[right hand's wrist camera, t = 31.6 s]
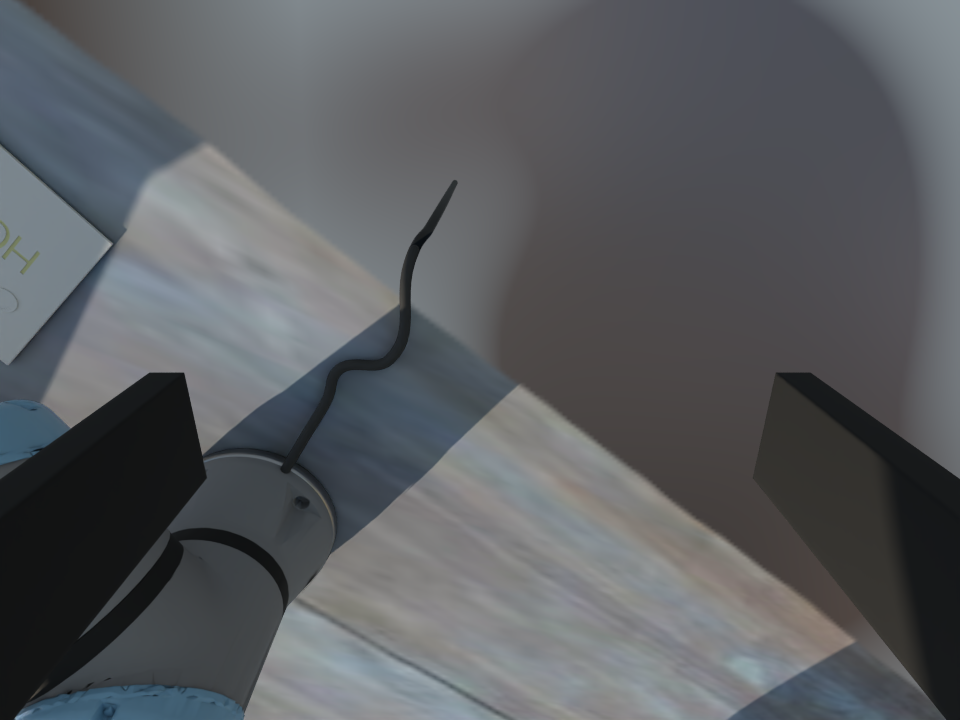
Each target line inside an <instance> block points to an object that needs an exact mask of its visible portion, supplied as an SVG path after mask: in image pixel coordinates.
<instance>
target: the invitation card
mask: <svg viewBox="0 0 960 720" xmlns="http://www.w3.org/2000/svg"><path fill="white" fill-rule="evenodd" d="M112 245H113V243H112V242H111V241H110V240H109V239H107V238H106V237H105V236H104V235H103V234H102V233H101V232H99V231H98V230H97V229H96V228H95V227H94V226H93V225H91V224H90V223H89V222H88V221H87V220H86V219H85V218H83V217H82V216H81V215H80V214H79V213H78V212H77V211H76V210H74V209H73V208H72V207H71V206H70V205H69V204H68V203H66V202H65V201H64V200H63V199H62V198H61V197H60V196H58V195H57V194H56V193H55V192H54V191H53V190H52V189H50V188H49V187H48V186H47V185H46V184H45V183H44V182H43V181H41V180H40V179H39V178H38V177H37V176H36V175H35V174H33V173H32V172H31V171H30V170H29V169H28V168H27V167H25V166H24V165H23V164H22V163H21V162H20V161H19V160H17V159H16V158H15V157H14V156H13V155H12V154H11V153H10V152H8V151H7V150H6V149H5V148H4V147H3V146H2V145H0V360H1V361H2V362H4V363H5V364H6V365H7V366H8V365H10V364H11V362H12V361H13V360H14V359H15V358H16V357H17V355H18V354H19V353H20V352H21V351H22V350H23V348H24V347H25V346H26V345H27V344H28V343H29V341H30V340H31V339H32V338H33V337H34V336H35V335H36V333H37V332H38V331H39V330H40V329H41V328H42V326H43V325H44V324H45V323H46V322H47V321H48V319H49V318H50V317H51V316H52V315H53V314H54V312H55V311H56V310H57V309H58V308H59V307H60V306H61V304H62V303H63V302H64V301H65V300H66V299H67V297H68V296H69V295H70V294H71V293H72V292H73V290H74V289H75V288H76V287H77V286H78V285H79V283H80V282H81V281H82V280H83V279H84V278H85V276H86V275H87V274H88V273H89V272H90V271H91V270H92V268H93V267H94V266H95V265H96V264H97V263H98V261H99V260H100V259H101V258H102V257H103V256H104V254H105V253H106V252H107V251H108V250H109V249H110V247H111V246H112Z"/></svg>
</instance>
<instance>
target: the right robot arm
mask: <svg viewBox="0 0 960 720" xmlns="http://www.w3.org/2000/svg"><path fill="white" fill-rule="evenodd" d="M457 184H458V182H457V180H453V181H452V183H451V184H450V186H449V188H448V189H447V191H446V192H445V194H444V196H443V197H442V199H441V200H440V202H439V204H438V205H437V207H436V209H435V210H434V212H433V213H432V215H431V217H430V218H429V220H428V222H427V223H426V225H425V226H424V228H423V229H422V230H421V231H420V232H419V233H418V234H417V235H416V237H415V238H414V240H413V241H412V243H411V245H410V247H409V250H408V252H407V255H406V258H405V261H404V264H403V268H402V273H401V279H400V326H399V333H398V337H397V340H396V342H395V345H394V346H393V348H392V349H391V351H390V352H389V353H388V354H387V355H386V356H385V357H384V358H382V359H380V360H347V361H344V362H341V363H339V364H337V365H336V366H335V367H334V368H333V369H332V370H331V371H330V373H329V375H328V378H327V382H326V388H325V392H324V395H323V397H322V399H321V401H320V403H319V405H318V407H317V408H316V410H315V412H314V413H313V415H312V417H311V418H310V420H309V421H308V423H307V425H306V426H305V428H304V429H303V431H302V433H301V434H300V436H299V438H298V439H297V441H296V443H295V444H294V446H293V448H292V449H291V451H290V453H289V454H288V456H287V458H285V457H282V456H280V455H277V454H274V453H270V452H267V451H262V450H255V449H230V450H224V451H219V452H216V453H213V454H210V455H208V456H206V457H204V458H203V457H202V452H201V448H200V443H199V439H198V434H197V429H196V425H195V420H194V416H193V411H192V406H191V402H190V397H189V393H188V388H187V384H186V379H185V374H184V373H148V374H147V375H146V376H144V377H143V378H141V379H140V380H139V381H137V382H136V383H134V384H133V385H132V386H130V387H129V388H127V389H126V390H125V391H123V392H122V393H120V394H119V395H118V396H116V397H115V398H113V399H112V400H111V401H109V402H108V403H106V404H105V405H104V406H102V407H101V408H99V409H98V410H96V411H95V412H94V413H92V414H91V415H89V416H88V417H87V418H85V419H84V420H82V421H81V422H80V423H78V424H77V425H75V426H74V427H73V428H70V427H68V426H67V425H66V424H65V423H64V422H63V421H62V420H61V419H60V418H59V417H58V416H57V415H56V414H55V413H54V412H53V411H52V410H51V409H49V408H48V407H47V406H45V405H43V404H41V403H38V402H35V401H31V400H10V401H5V402H1V403H0V720H243V719H244V716H245V715H244V713H245V710H246V708H247V705H248V703H249V700H250V698H251V695H252V693H253V690H254V688H255V685H256V682H257V680H258V677H259V675H260V672H261V670H262V667H263V665H264V662H265V660H266V657H267V655H268V652H269V650H270V647H271V645H272V642H273V640H274V637H275V635H276V632H277V630H278V627H279V625H280V622H281V620H282V617H283V615H284V612H285V610H286V608H287V606H288V605H289V604H290V603H291V602H292V601H293V600H294V599H295V598H296V597H297V595H298V594H299V593H300V592H301V591H302V590H303V589H304V588H305V587H306V586H307V585H308V584H309V583H311V582H312V581H313V580H314V579H313V578H314V577H315V576H316V575H317V574H318V573H319V571H320V570H321V569H322V567H323V565H324V564H325V562H326V560H327V559H328V557H329V555H330V552H331V550H332V547H333V544H334V541H335V538H336V533H337V518H336V512H335V509H334V506H333V503H332V501H331V499H330V497H329V495H328V493H327V492H326V490H325V489H324V487H323V486H322V485H321V484H320V483H319V481H318V480H317V479H316V478H315V477H314V476H313V475H312V474H310V473H309V472H308V471H307V470H305V469H304V468H303V467H301V466H300V465H298V464H296V461H297V459H298V458H299V456H300V454H301V453H302V451H303V449H304V448H305V446H306V444H307V443H308V441H309V439H310V438H311V436H312V434H313V433H314V431H315V430H316V428H317V426H318V425H319V423H320V422H321V420H322V419H323V417H324V415H325V414H326V412H327V410H328V408H329V406H330V404H331V403H332V400H333V398H334V395H335V390H336V385H337V381H338V379H339V377H340V376H341V375H342V374H343V373H344V372H346V371H349V370H381V369H385V368H387V367H389V366H390V365H392V364H393V363H394V362H395V361H396V360H397V359H398V358H399V357H400V355H401V354H402V352H403V350H404V349H405V346H406V344H407V341H408V337H409V333H410V321H411V280H412V273H413V269H414V265H415V262H416V259H417V257H418V254H419V252H420V250H421V248H422V246H423V245H424V243H425V242H426V241H427V239H428V238H429V237H430V236H431V235H432V233H433V231H434V229H435V228H436V226H437V224H438V222H439V220H440V218H441V217H442V215H443V213H444V211H445V209H446V207H447V205H448V203H449V201H450V199H451V197H452V194H453V192H454V190H455V188H456V186H457ZM753 479H754V480H755V481H756V483H757V484H758V485H759V486H760V488H761V489H762V490H763V491H764V492H765V494H766V495H767V496H768V497H769V499H770V500H771V501H772V503H773V504H774V505H775V506H776V507H777V509H778V510H779V511H780V512H781V514H782V515H783V516H784V517H785V519H786V520H787V521H788V522H789V524H790V525H791V526H792V527H793V529H794V530H795V531H796V532H797V534H798V535H799V536H800V537H801V539H802V540H803V541H804V542H805V544H806V545H807V546H808V547H809V549H810V550H811V551H812V552H813V554H814V555H815V556H816V557H817V559H818V560H819V561H820V562H821V564H822V565H823V566H824V567H825V569H826V570H827V571H828V572H829V574H830V575H831V576H832V577H833V579H834V580H835V581H836V582H837V584H838V585H839V586H840V587H841V589H842V590H843V591H844V592H845V594H846V595H847V596H848V597H849V599H850V600H851V601H852V602H853V604H854V605H855V606H856V607H857V609H858V610H859V611H860V612H861V614H862V615H863V616H864V617H865V619H866V620H867V621H868V622H869V624H870V625H871V626H872V627H873V629H874V630H875V631H876V632H877V634H878V635H879V636H880V637H881V639H882V640H883V641H884V642H885V644H886V645H887V646H888V647H889V649H890V650H891V651H892V652H893V653H894V655H895V656H896V657H897V659H898V660H899V661H900V662H901V664H902V665H903V666H904V667H905V668H906V670H907V671H908V672H909V673H910V675H911V676H912V677H913V678H914V680H915V681H916V682H917V683H918V685H919V686H920V687H921V688H922V690H923V691H924V692H925V693H926V695H927V696H928V697H929V698H930V700H931V701H932V702H933V703H934V705H935V706H936V707H937V708H938V710H939V711H940V712H941V713H942V715H943V716H944V717H945V718H946V720H960V479H959V478H958V477H956V476H955V475H953V474H952V473H951V472H949V471H948V470H946V469H945V468H944V467H942V466H941V465H939V464H938V463H937V462H935V461H934V460H932V459H931V458H930V457H928V456H927V455H925V454H924V453H922V452H921V451H920V450H918V449H917V448H915V447H914V446H913V445H911V444H910V443H908V442H907V441H906V440H904V439H903V438H901V437H900V436H899V435H897V434H896V433H894V432H893V431H891V430H890V429H889V428H887V427H886V426H885V425H883V424H882V423H880V422H879V421H878V420H876V419H875V418H873V417H872V416H871V415H869V414H868V413H866V412H865V411H864V410H862V409H861V408H859V407H858V406H856V405H855V404H854V403H852V402H851V401H849V400H848V399H847V398H845V397H844V396H842V395H841V394H840V393H838V392H837V391H835V390H834V389H833V388H831V387H830V386H828V385H827V384H825V383H824V382H823V381H821V380H820V379H819V378H817V377H816V376H814V375H813V374H812V373H776V375H775V379H774V384H773V388H772V393H771V397H770V402H769V407H768V411H767V416H766V420H765V425H764V430H763V434H762V439H761V443H760V448H759V452H758V457H757V461H756V466H755V471H754V475H753ZM312 579H313V580H312ZM306 588H307V587H306ZM306 588H305V589H306ZM305 589H304V590H305ZM304 590H303V591H304ZM295 600H296V599H295Z"/></svg>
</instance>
